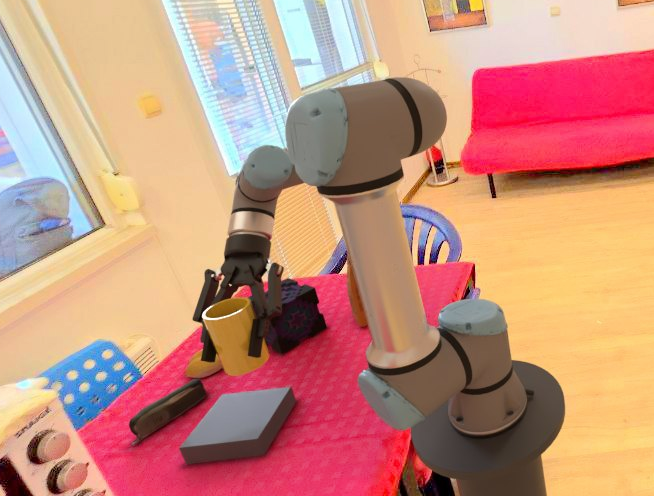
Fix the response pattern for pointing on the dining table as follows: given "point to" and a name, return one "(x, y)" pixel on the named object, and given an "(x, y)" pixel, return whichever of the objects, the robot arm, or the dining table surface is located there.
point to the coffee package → (355, 297)
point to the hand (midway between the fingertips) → (231, 358)
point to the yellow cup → (233, 335)
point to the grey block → (239, 425)
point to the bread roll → (202, 366)
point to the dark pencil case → (166, 409)
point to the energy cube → (294, 317)
